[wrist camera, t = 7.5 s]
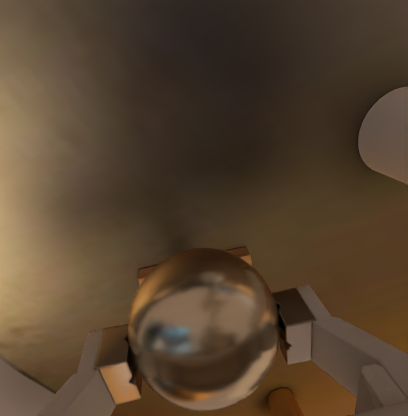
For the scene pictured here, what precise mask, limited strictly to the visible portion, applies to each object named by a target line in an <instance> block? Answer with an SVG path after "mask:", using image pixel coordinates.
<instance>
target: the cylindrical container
mask: <svg viewBox="0 0 408 416" xmlns="http://www.w3.org/2000/svg"><path fill="white" fill-rule="evenodd" d="M358 149H359V153H360V156H361V158H362V160H363V162H364V163H365V164H366V165H367V166H368V167H369V168H371V169H372V170H374V171H376V172H379V173H381V174H384V175H386V176H388V177H391V178H393V179H396V180H398V181H400V182H403V183H405V184H408V87H401V88H398V89H395V90H393V91H391V92H389V93H387V94H386V95H384V96H383V97H381V98H380V99H379V100H378V101H377V102H376V103H375V104H374V105H373V106H372V107H371V109H370V110H369V111H368V113H367V114H366V116H365V118H364V120H363V122H362V125H361V128H360V131H359V137H358Z"/></svg>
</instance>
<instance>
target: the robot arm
mask: <svg viewBox="0 0 408 416" xmlns="http://www.w3.org/2000/svg"><path fill="white" fill-rule="evenodd" d="M272 295H273V297H274V300H275V303H276V306H277V310H278V315H279V323H280V339H279V340H280V349H281V351H282V353H283V356H284V358H285V360H286V362H287V365H288V364H293V363H298V362H303V361H308V360H312V362H313V363H315V364H316V365H317V366H318V367H320V368H321V369H322V370H323V371H324V372H326V373H327V374H328V375H329V376H331V377H332V378H333V379H334V380H336V381H337V382H338V383H339V384H341V385H342V386H343V387H344V388H346V389H347V390H348V391H349V392H351V393H352V394H353V395H354V396H355V397H357V401H356V408H355V414H353V415H348V416H408V354H407V353H405V352H403V351H402V350H400V349H398V348H396V347H394V346H392V345H390V344H388V343H386V342H384V341H382V340H380V339H378V338H377V337H375V336H373V335H371V334H369V333H367V332H365V331H363V330H361V329H359V328H357V327H355V326H353V325H352V324H350V323H348V322H346V321H344V320H342V319H340V318H338V317H332V316H331V315H330V314H329V312H328V311H327V309H326V308H325V306H324V305H323V304H322V302H321V301H320V299H319V298H318V297H317V295H316V294H315V292H314V291H313V289H312V288H311V287H310V286H309V285H304V286H300V287H296V288H291V289H287V290H282V291H278V292H273V293H272ZM141 387H142V378H141V375H140V373H139V372H138V370H137V367H136V365H135V363H134V361H133V358H132V354H131V351H130V346H129V340H128V324H124V325H119V326H113V327H108V328H104V329H99V330H94V331H90V332H89V334H88V335H87V338H86V342H85V345H84V349H83V353H82V356H81V360H80V364H79V367H78V371H77V374H74V375H72V376H71V377H70V378H69V379H68V380H67V382H66V383H65V384H64V385H63V386H62V387H61V388H60V390H59V391H58V392H57V393H56V394H55V395H54V396H53V398H52V399H51V400H50V401H49V402H48V403H47V404H46V406H45V407H44V408H43V409H42V410H41V411H40V412H39V413H38V415H37V416H110V415H111V414H112V412H113V410H114V408H115V407H116V406H115V405H117V404H120V403H124V402H128V401H132V400H136V399H140V398H141Z"/></svg>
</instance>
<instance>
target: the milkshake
mask: <svg viewBox="0 0 408 416" xmlns="http://www.w3.org/2000/svg"><path fill="white" fill-rule="evenodd" d="M267 402H268V406H269V410H270V413H271V416H304V414H303V412H302V410H301V409H300V407H299V405H298V403H297V401H296V399H295V397H294V395H293V393H292V392H291V391H290V390H289V389H287V388H280V389H277V390H274V391H273V392H272V393H271V394H269V395H268V401H267Z"/></svg>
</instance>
